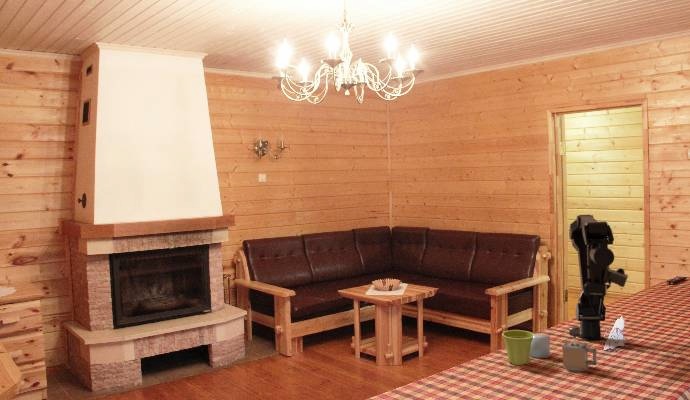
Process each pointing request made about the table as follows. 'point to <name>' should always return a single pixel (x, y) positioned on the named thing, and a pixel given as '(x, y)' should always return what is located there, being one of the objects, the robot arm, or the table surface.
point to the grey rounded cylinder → (540, 346)
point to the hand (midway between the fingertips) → (598, 310)
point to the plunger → (574, 333)
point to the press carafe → (577, 356)
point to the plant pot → (518, 346)
